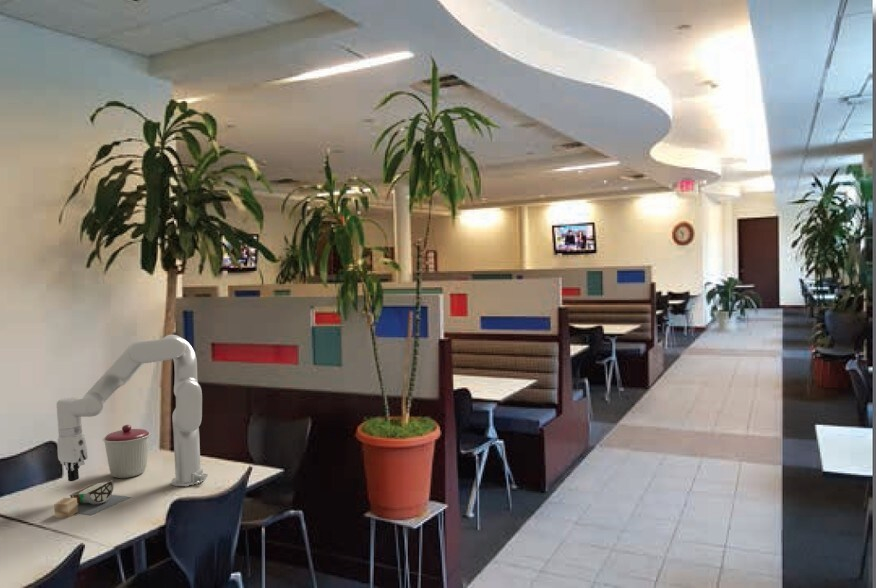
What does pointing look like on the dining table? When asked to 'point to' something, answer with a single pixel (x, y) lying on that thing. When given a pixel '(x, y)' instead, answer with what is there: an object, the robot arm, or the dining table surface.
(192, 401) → the robot arm
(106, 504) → the mat
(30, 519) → the dining table surface
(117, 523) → the dining table surface
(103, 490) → the food container
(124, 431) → the canister
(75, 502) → the oak block
